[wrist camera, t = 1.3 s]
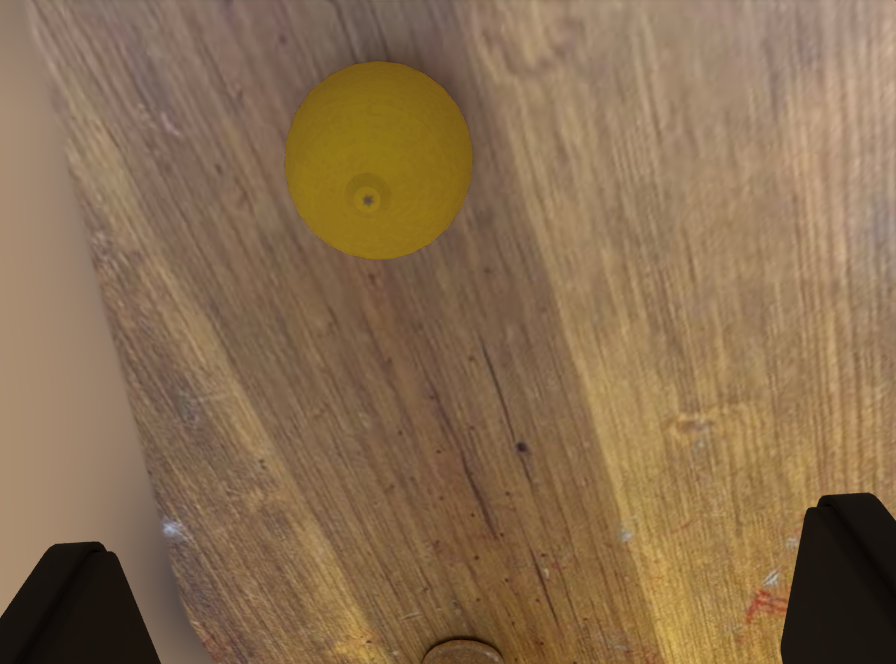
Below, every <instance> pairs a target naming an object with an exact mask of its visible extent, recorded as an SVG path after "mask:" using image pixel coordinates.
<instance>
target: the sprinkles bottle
mask: <svg viewBox="0 0 896 664" xmlns="http://www.w3.org/2000/svg"><path fill="white" fill-rule="evenodd" d="M422 664H505V663H504V661H503V659H502V657H501V656H500V655H499V653H498V652H497V651H496V650H495V649H493V648H492V647H490V646H488V645H485V644H483V643H479V642H477V641H468V640H453V641H449V642H446V643H443V644H441V645H438V646H436V647H434V648H433V649H432V650H431V651H430V652H429V653H428V654H427V655H426V656H425V658H424V661H423V663H422Z"/></svg>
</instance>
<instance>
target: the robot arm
mask: <svg viewBox="0 0 896 664" xmlns="http://www.w3.org/2000/svg"><path fill="white" fill-rule="evenodd" d="M781 656H782V662H783V664H896V521H895V519H894V518H893V517H892V516H891V514H890V513H889V512H888V510H887V509H886V508H885V507H884V505H883V504H882V503H881V502H880V500H879V499H878V498H877V497H876V496H875V495H873V494H871V493H853V494H837V495H825V496H822V497H821V498H820V499H819V502H818V505H817V507H811V508H808V510H807V511H806V514H805V518H804V523H803V529H802V534H801V539H800V544H799V550H798V555H797V560H796V566H795V571H794V576H793V582H792V587H791V592H790V598H789V603H788V608H787V613H786V619H785V624H784V629H783V635H782V640H781ZM0 664H161V662H160V660H159V658H158V655H157V653H156V650H155V648H154V645H153V643H152V640H151V638H150V636H149V633H148V631H147V628H146V626H145V623H144V621H143V618H142V616H141V613H140V611H139V608H138V606H137V604H136V601H135V599H134V596H133V594H132V591H131V589H130V586H129V584H128V581H127V579H126V577H125V574H124V572H123V569H122V567H121V564H120V562H119V560H118V557H117V556H116V554H115V553H113V552H111V551H110V552H109V551H108V552H107V550H106V549H105V547H104V545H103V544H101V543H100V542H79V543H63V544H55V545H53V546H51V547H50V548H49V549H48V550H47V551H46V552H45V553H44V555H43V556H42V558H41V559H40V561H39V562H38V564H37V565H36V566H35V568H34V569H33V571H32V572H31V574H30V575H29V577H28V578H27V580H26V581H25V583H24V584H23V585H22V587H21V588H20V590H19V591H18V593H17V594H16V596H15V597H14V599H13V600H12V602H11V603H10V604H9V606H8V608H7V609H6V610H5V612H4V613H3V615H2V616H1V618H0Z"/></svg>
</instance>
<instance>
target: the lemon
mask: <svg viewBox="0 0 896 664" xmlns="http://www.w3.org/2000/svg"><path fill="white" fill-rule="evenodd" d="M472 162H473V151H472V146H471V140H470V135H469V130H468V127H467V125H466V123H465V121H464V118H463V116H462V114H461V112H460V110H459V107H458V106H457V105H456V103H455V102H454V101H453V100H452V98H451V97H450V96H449V95H448V93H447V92H446V91H445V90H444V88H443V87H442V86H440V85H439V84H438V83H436V82H435V81H434V80H432V79H431V78H430V77H428V76H427V75H426V74H424V73H422V72H420V71H417V70H415V69H412V68H410V67H408V66H405V65H403V64H398V63H390V62H382V61H374V62H368V63H361V64H354V65H351V66H349V67H347V68H344V69H342V70H340V71H338V72H335V73H333V74H331V75H330V76H328V77H327V78H326V79H325V80H323V81H322V82H321V83H320V84H319V85H317V86H316V87H315V88H314V89H312V90H311V91H310V93H309V94H308V96H307V97H306V99H305V100H304V101H303V103H302V104H301V106H300V107H299V109H298V110H297V112H296V113H295V116H294V119H293V122H292V124H291V127H290V130H289V133H288V136H287V140H286V152H285V164H284V166H285V172H286V178H287V184H288V189H289V193H290V195H291V197H292V199H293V202H294V204H295V206H296V208H297V211H298V213H299V215H300V216H301V217H302V219H303V220H304V221H305V223H306V224H307V225H308V226H309V228H310V229H311V230H312V232H314V233H315V234H316V235H317V236H319V237H320V238H321V239H322V240H323V241H325V242H326V243H327V244H328V245H330V246H332V247H334V248H336V249H338V250H340V251H342V252H344V253H346V254H349V255H353V256H357V257H362V258H366V259H392V258H396V257H400V256H404V255H408V254H411V253H413V252H415V251H417V250H418V249H420V248H422V247H424V246H426V245H428V244H430V243H431V242H432V241H433V240H435V239H436V238H437V237H438V236H439V235H440V234H441V233H442V232H443V231H444V230H446V229H447V228H448V227H449V225H450V224H451V222H452V221H453V219H454V218H455V216H456V215H457V213H458V212H459V210H460V208H461V207H462V205H463V203H464V200H465V197H466V194H467V191H468V188H469V185H470V182H471V175H472Z"/></svg>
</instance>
